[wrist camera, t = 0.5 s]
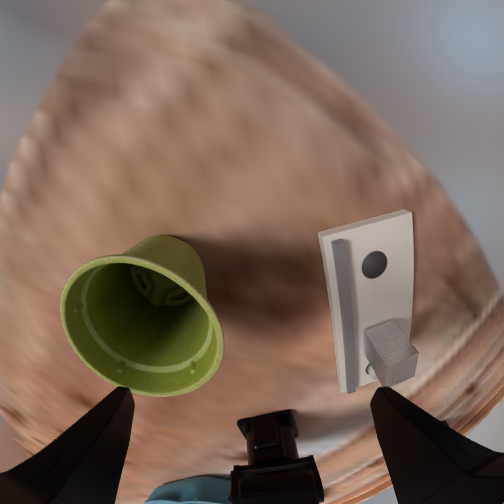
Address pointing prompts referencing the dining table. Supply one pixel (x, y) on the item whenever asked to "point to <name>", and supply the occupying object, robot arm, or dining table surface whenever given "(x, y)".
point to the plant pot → (145, 318)
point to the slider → (390, 353)
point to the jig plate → (367, 286)
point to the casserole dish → (192, 491)
